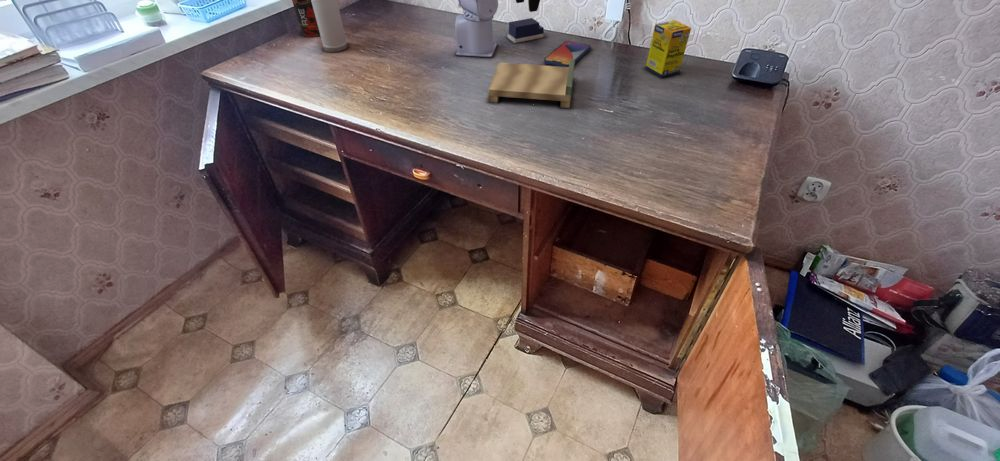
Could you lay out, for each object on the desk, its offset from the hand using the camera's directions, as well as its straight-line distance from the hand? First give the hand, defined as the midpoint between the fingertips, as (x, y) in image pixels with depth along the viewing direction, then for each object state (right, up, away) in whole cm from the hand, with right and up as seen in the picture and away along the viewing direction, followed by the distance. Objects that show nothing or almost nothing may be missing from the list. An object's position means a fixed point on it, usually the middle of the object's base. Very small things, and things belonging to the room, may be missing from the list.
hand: (526, 6), depth 125 cm
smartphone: (+10, -15, -4) cm, 19 cm away
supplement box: (+33, -21, -10) cm, 40 cm away
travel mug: (-52, -11, +1) cm, 53 cm away
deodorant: (-61, -3, +9) cm, 62 cm away
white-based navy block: (0, -6, +6) cm, 8 cm away
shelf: (0, -28, -17) cm, 33 cm away
